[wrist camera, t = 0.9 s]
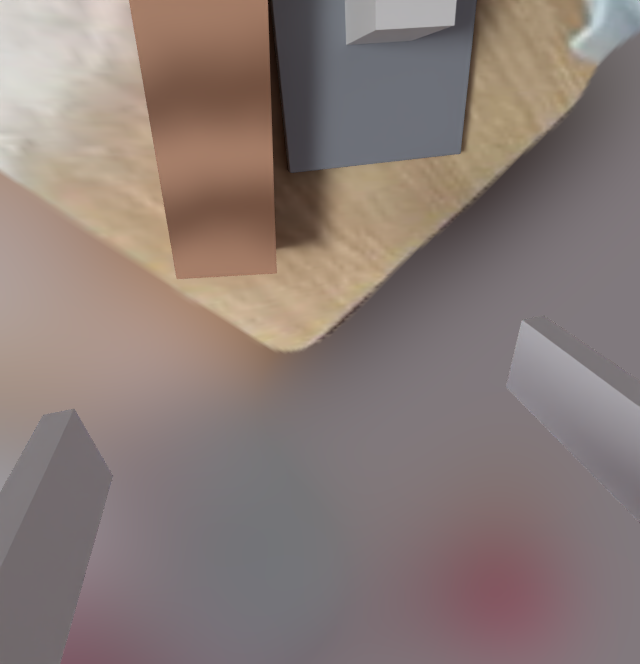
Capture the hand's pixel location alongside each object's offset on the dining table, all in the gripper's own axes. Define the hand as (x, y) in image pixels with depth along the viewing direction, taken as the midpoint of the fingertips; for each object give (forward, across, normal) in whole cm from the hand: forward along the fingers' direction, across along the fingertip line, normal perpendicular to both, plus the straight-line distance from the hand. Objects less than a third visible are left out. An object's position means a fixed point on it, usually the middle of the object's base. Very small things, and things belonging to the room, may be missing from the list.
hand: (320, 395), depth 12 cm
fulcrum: (+19, +8, +11) cm, 24 cm away
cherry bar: (+19, -2, +8) cm, 21 cm away
